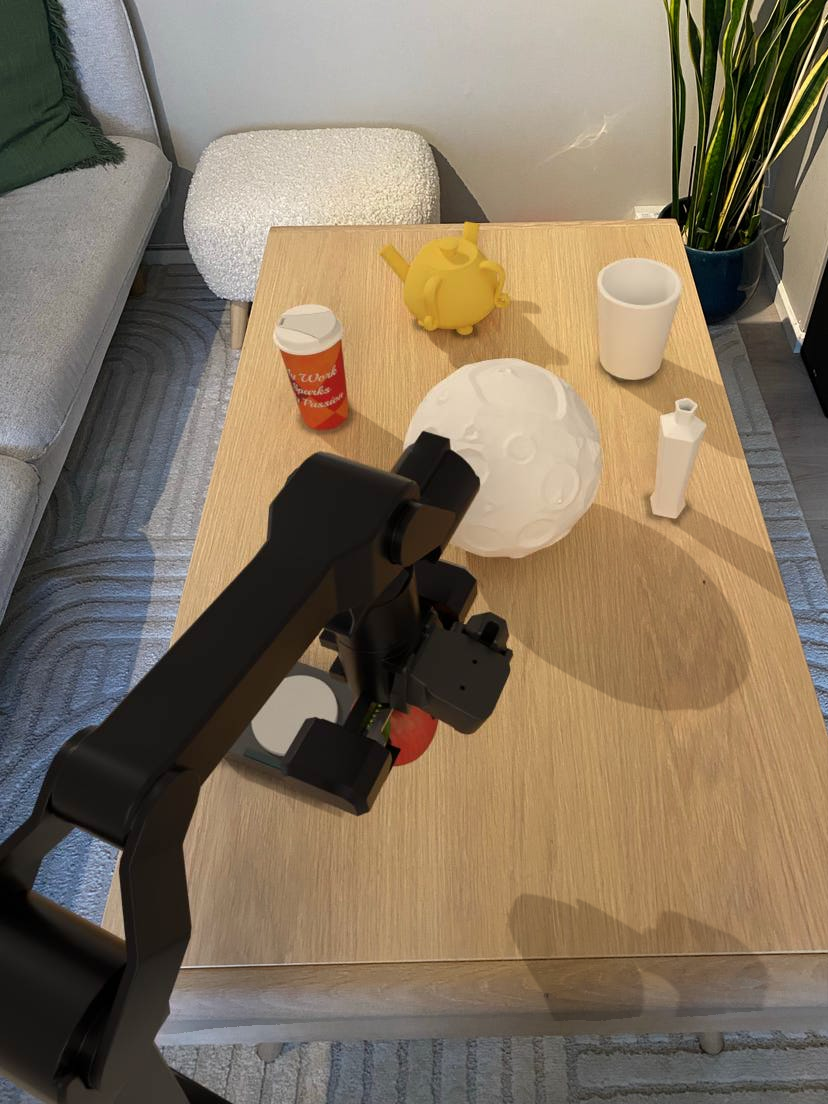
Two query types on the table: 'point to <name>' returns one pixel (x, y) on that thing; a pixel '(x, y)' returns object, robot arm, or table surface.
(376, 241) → the table surface
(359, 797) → the robot arm
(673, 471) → the white faceted vase
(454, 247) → the teapot
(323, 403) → the paper cup
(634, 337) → the cup
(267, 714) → the scale
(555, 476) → the decorative sphere
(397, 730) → the spotted red fruit
